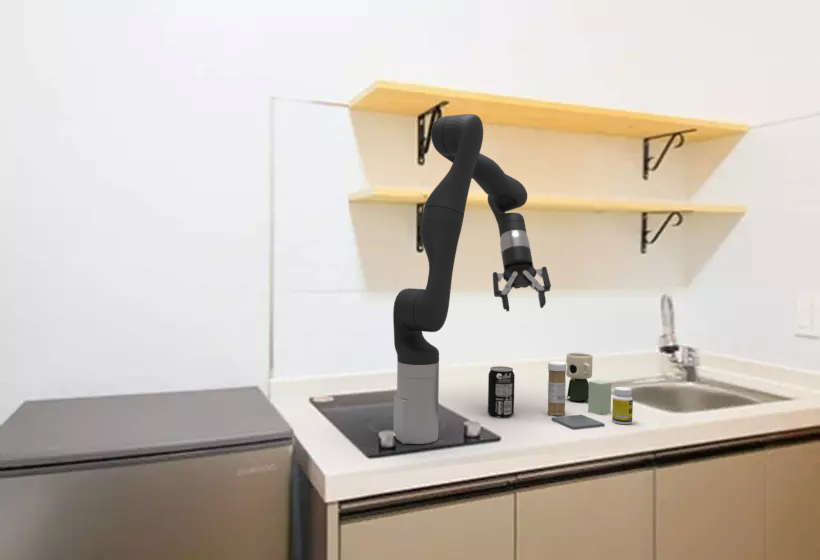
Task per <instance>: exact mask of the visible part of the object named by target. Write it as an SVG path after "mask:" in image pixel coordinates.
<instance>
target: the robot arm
mask: <svg viewBox="0 0 820 560" xmlns="http://www.w3.org/2000/svg"><path fill="white" fill-rule="evenodd" d="M430 133H431V134H430V136H431V143H432V145H433V147H434V150H436V152H438V154H440V155H441V156H442V157H443V158H445V159H447V160H448V161H449V162H451V163H452V164H451V167H450V168H449V170H448V172H447V173H446V175H444V177H443V179H441V180H440V182H439V183H438V184H437V185H436V186H435V188H434V189H433V190H432V192H431V193H430V195H429V196H428V198H427V199H426V201H425V204H424V207H423V213H422V216H421V220H420V226H419V234H420V239H421V243H422V245H423V249H424V252H425V255H426V257H427V260H428V261H427V262H428V275H427V282H426V286H425V288H410V287H409V288H403V289H402V290H400V291H399V292H398V293H397V295H396V296H395V297H396V298H395V300H394V303H393V309H392V311H393V313H392V316H393V317H392V318H393V320H392V321H393V343H394V350H395V352H396V356H397V357H396V359H397V364H396V365H397V367H396V368H397V369H396V373H397V374H396V375H397V376H396V390H397V391H396V393H395V394H393V427H392V428H393V432H394V433H395V434H396V438H395V439H396V440H398V441H399V442H400V443H401V444H405V445H406V444H413V445H424V444H432V443H434V442H436V441H438V439H439V395H440V394H439V390H440V389H439V386H440V385H439V383H440V381H439V380H440V378H439V377H440V351H439V349H438V347H436V346H434V345H433V344H431V343H430V342H429V341H427V339H426V338H425V337H424V335H423V332H425V333H426V332H427V333H436V332H438V331H440V330H441V329H442V328H443V327H444V325H445V322H446V320H447V318H448V313H449V307H450V299H451V290H452V280H453V272H454V265H455V261H456V260H455V259H456V255H457V249H458V246H459V245H458V244H459V240H460V236H461V231H462V227H463V222H464V217H465V211H466V206H467V200H468V195H469V191H470V186H471V183H472V179H473V181H475V183H477V185H478V186H479V187H480V188H481V189H482V191H484V192H485V194H486V195H487V203H488V206H489V208H490V209H491V212H492V213H493V215H494V218H495V221H496V223H497V227H498V233H499V239H500V241H499V242H500V243H499V245H500V254H501V259H502V265H503V273H498V272H497V271H494V272H493V273H492V285H493V286H492V288H493V296H494V297H495V298H497V297H498V298H500V299H501V303H502V309H503V310H505V311H506V313H507V312H510V305H509V304H510V302H509V296H508V295H509V293H510V292H511V291H512V289H513V288H514V289H516V290H517V289H520V288H524V289H525V288H528V287H530V288H531V289H532V290H533V291H535V292H537V293H538V294H537V297H538V301H539V302H538V303H539V307H540V309H543V308H544V307H545V306H546V302H547V301H546V300H547V299H546V295H545V294H546V292H550V291H551V286H552V285H551V280H550V277H549V272H548V269H547V267H546V266H542V267H541V268H537V269H536V268H535V267H534V262H533V257H532V249H531V246H530V241H529V237H528V235H527V226H526V222H525V218H524V216H523V215H522V214H521V213H519V212H511V211H513V210H515V209H518V208H521V207H523V206H524V205H525V204H526V203H527V201H528V192H527V189H526V187H525V186H524V184H522V183H521V182H520V181H519V180H517V179H516V178H514V177H512V176H511V175H508V174H506V172H505V171H504V170H503V168H501V166H499V164H498V163H497V162H496V161H494V160H493V159H492V158H490V157H489V156H487V155H484V154H482V153H481V150H482V149H481V148H482V146H483V145H482V144H483V141H484V126H483V121H482V119H481V117H479V116H478V115H477V114H474V113H473V114H472V113H465V114H453V115H445V116H441V117H438V118H437V119H436V120H435V121H434V122H433V124H432V127H431V131H430ZM509 211H510V212H509ZM536 275H538V276H539V278H542V283H543V285H542V284H541V283H539V281H538V280H537V279H536V278H535V277H536ZM502 279H503V280H505V282H506V284H505V286H504V287H503V289H502V290H500V287H499V283H500V282H501V281H502Z"/></svg>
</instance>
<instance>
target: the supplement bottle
mask: <svg viewBox="0 0 820 560" xmlns="http://www.w3.org/2000/svg"><path fill="white" fill-rule="evenodd" d="M632 390H633V389H632V388H629V387H625V386H616V387H614V392H613V393H614V395H613V396H612V408H611V410H612V411H611V412H612V413H611V415H612V417H611V420H612V422H613V423H615V424H617V425H631V424H633V407H634V406H633V405H634V400H633V399H634V398H633V397H632V394H633V393H632V392H633V391H632Z"/></svg>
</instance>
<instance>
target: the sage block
mask: <svg viewBox="0 0 820 560" xmlns="http://www.w3.org/2000/svg"><path fill="white" fill-rule="evenodd" d="M588 383H589V398H588V399H587V400H588V403H587V404H588V405H587V406H588V407H587V412H589V413H592V414H594V415H595V414H596V415H599V416H603V415H607V414H612V413H611V412H612V411H611V410H612V407H611V406H612V382H610V381H605V380H602V379H598V380H597V379H596V380H589V381H588Z"/></svg>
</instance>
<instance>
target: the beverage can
mask: <svg viewBox="0 0 820 560" xmlns="http://www.w3.org/2000/svg"><path fill="white" fill-rule="evenodd" d="M487 377H488V379H487V380H488V381H487V382H488V385H487V386H488V390H487V391H488V392H487V413H488V414H489V415H490V416H491V417H494V418H501V419H502V418H503V419H504V418H505V419H507V418H510V417H512V416H513V414H514V413H515V378H516V377H515V373H514V368H512V367H511V366H501V365H498V366H491V367H490V370H489V372H488V376H487Z"/></svg>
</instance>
